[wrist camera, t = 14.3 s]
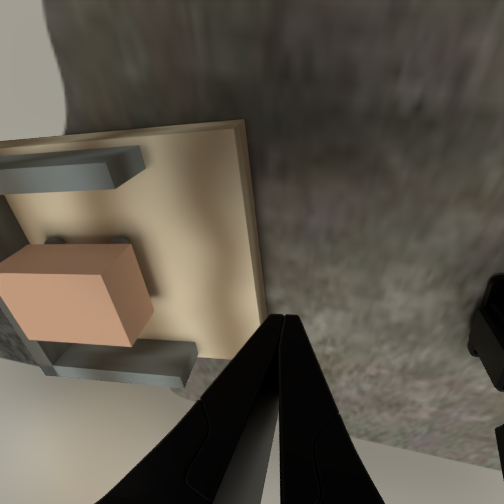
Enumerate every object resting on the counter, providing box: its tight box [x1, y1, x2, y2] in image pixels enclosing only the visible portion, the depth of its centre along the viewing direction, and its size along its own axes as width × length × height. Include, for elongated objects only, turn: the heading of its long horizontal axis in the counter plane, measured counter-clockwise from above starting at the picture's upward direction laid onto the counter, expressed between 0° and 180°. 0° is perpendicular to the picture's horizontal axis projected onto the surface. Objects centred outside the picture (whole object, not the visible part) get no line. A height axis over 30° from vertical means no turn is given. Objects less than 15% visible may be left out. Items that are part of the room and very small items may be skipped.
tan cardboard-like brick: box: [0, 236, 154, 347], centre depth 19 cm, size 7×5×4 cm
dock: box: [0, 119, 267, 389], centre depth 21 cm, size 16×16×6 cm
